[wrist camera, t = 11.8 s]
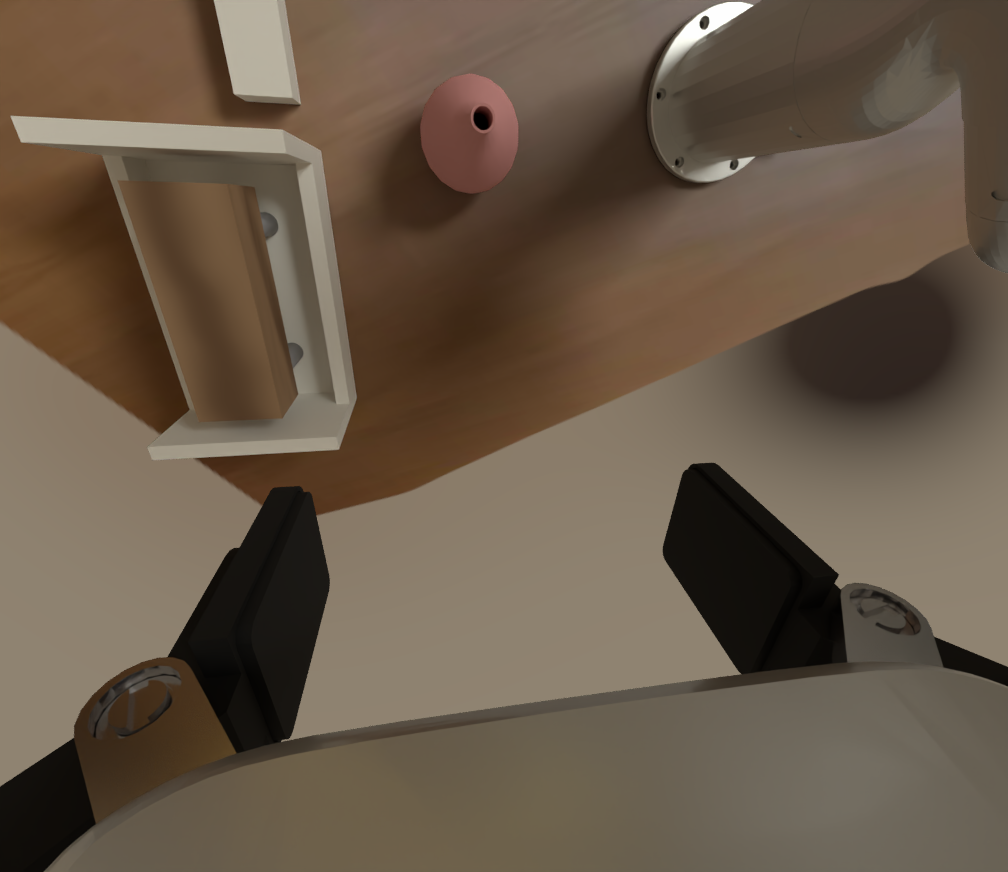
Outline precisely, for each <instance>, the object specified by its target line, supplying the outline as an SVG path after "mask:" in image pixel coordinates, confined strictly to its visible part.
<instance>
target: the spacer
mask: <svg viewBox="0 0 1008 872" xmlns="http://www.w3.org/2000/svg"><path fill="white" fill-rule="evenodd" d="M214 3H215V8H216V12H217V17H218V22H219V26H220V31H221V36H222V40H223V45H224V50H225V55H226V59H227V64H228V69H229V73H230V78H231V83H232V87H233V92H234V95H236V96H238V97H240V98H241V99H243V100H245V101H247V102H263V103H280V104H297V105H301V102H300V95H299V89H298V82H297V76H296V70H295V63H294V57H293V51H292V44H291V38H290V31H289V25H288V19H287V12H286V6H285V0H214Z"/></svg>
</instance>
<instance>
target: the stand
mask: <svg viewBox="0 0 1008 872" xmlns="http://www.w3.org/2000/svg"><path fill="white" fill-rule="evenodd" d="M11 119H12V121H13V123H14V126H15V128H16V131H17V133H18V136H19V138H20V140H21V142H23V143H30V144H36V145H42V146H48V147H55V148H61V149H67V150H73V151H80V152H86V153H92V154H98V155H102V157H103V160H104V163H105V165H106V168H107V171H108V174H109V177H110V180H111V183H112V186H113V189H114V192H115V194H116V197H117V200H118V203H119V206H120V209H121V212H122V215H123V218H124V221H125V224H126V226H127V229H128V232H129V235H130V238H131V241H132V244H133V247H134V250H135V253H136V256H137V258H138V261H139V264H140V267H141V270H142V273H143V276H144V279H145V282H146V285H147V287H148V290H149V293H150V296H151V299H152V302H153V305H154V308H155V311H156V314H157V317H158V319H159V322H160V325H161V328H162V331H163V334H164V337H165V340H166V343H167V346H168V348H169V351H170V354H171V357H172V360H173V363H174V366H175V369H176V372H177V375H178V378H179V380H180V383H181V386H182V389H183V392H184V395H185V398H186V401H187V404H188V407H189V409H190V410H189V411H188V412H187V413H185V414H184V415H183V416H182V417H181V418H180V419H179V420H177V421H176V422H175V423H174V424H173V425H172V426H171V427H169V428H168V429H167V430H166V431H165V432H164V433H162V434H161V435H160V436H159V437H158V438H157V439H156V440H154V441H153V442H152V443H151V444H150V445H149V446H148V447H147V448H148V450H149V453H150V456H151V458H152V460H168V459H184V458H203V457H220V456H237V455H255V454H272V453H290V452H307V451H324V450H339V448H340V445H341V442H342V439H343V437H344V434H345V431H346V428H347V425H348V422H349V419H350V416H351V414H352V411H353V408H354V405H355V402H356V399H357V395H356V388H355V381H354V374H353V368H352V361H351V354H350V347H349V340H348V333H347V326H346V319H345V313H344V306H343V299H342V292H341V285H340V278H339V271H338V264H337V258H336V251H335V244H334V237H333V230H332V223H331V216H330V209H329V203H328V196H327V189H326V182H325V175H324V168H323V161H322V154H321V150H319V149H317V148H315V147H313V146H311V145H310V144H308V143H306V142H304V141H302V140H300V139H299V138H297V137H295V136H293V135H291V134H289V133H288V132H286V131H284V130H279V129H259V128H240V127H220V126H200V125H180V124H161V123H141V122H121V121H101V120H82V119H62V118H42V117H22V116H11ZM118 180H126V181H157V182H187V183H217V184H233V185H241V186H250V187H255V192H256V196H257V201H258V206H259V211H260V215H261V220H262V225H263V230H264V234H265V239H266V244H267V248H268V253H269V258H270V263H271V267H272V272H273V277H274V282H275V286H276V291H277V296H278V301H279V305H280V310H281V315H282V319H283V324H284V329H285V334H286V338H287V343H288V348H289V353H290V357H291V362H292V367H293V372H294V376H295V381H296V386H297V390H298V396H297V397H296V399H295V400H294V402H293V403H292V405H291V406H290V408H289V409H288V411H287V412H286V414H285V415H284V417H283V418H282V419H261V420H238V421H216V422H199V421H198V418H197V415H196V412H195V409H194V406H193V403H192V400H191V397H190V394H189V391H188V388H187V385H186V382H185V379H184V376H183V373H182V370H181V368H180V365H179V362H178V359H177V356H176V353H175V350H174V347H173V344H172V341H171V338H170V335H169V332H168V329H167V326H166V323H165V320H164V317H163V314H162V311H161V308H160V305H159V302H158V299H157V296H156V293H155V290H154V287H153V284H152V281H151V278H150V275H149V272H148V270H147V267H146V264H145V261H144V258H143V255H142V252H141V249H140V246H139V243H138V240H137V237H136V234H135V231H134V228H133V225H132V222H131V219H130V216H129V213H128V210H127V207H126V204H125V201H124V198H123V195H122V192H121V189H120V186H119V183H118Z"/></svg>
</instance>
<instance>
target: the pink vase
mask: <svg viewBox="0 0 1008 872" xmlns="http://www.w3.org/2000/svg"><path fill="white" fill-rule="evenodd" d="M420 131H421V144H422V149H423V152H424V154H425V157H426V159H427V162H428V165H429V167H430V168H431V169H432V170H433V172H434V173H435V174H436V175H437V177H438V178H439V179H440V181H442V182H443V183H445V184H446V185H448V186H449V187H451V188H452V189H454V190H456V191H460V192H465V193H470V194H474V193H479V192H484V191H488V190H490V189H491V188H493V187H494V186H496V185H497V184H499V183H500V182H501V181H502V180H503V179H504V177H505V176H506V175H507V173H508V172H509V170H510V169H511V168H512V165H513V162H514V159H515V156H516V152H517V149H518V122H517V118H516V114H515V111H514V107H513V105H512V103H511V102H510V100H509V99H508V97H507V95H506V94H505V92H504V91H503V89H501V88H500V87H499V86H498V85H496V84H495V83H494V82H492V81H491V80H490V79H489V78H486V77H482V76H478V75H475V74H466V75H461V76H455V77H452V78H450V79H448V80H447V81H446V82H444V83H443V84H441V85H440V86H439V87H437V88H436V89H435V90H434V92H433V93H432V95H431V96H430V98H429V100H428V101H427V103H426V104H425V107H424V111H423V116H422V120H421V124H420Z"/></svg>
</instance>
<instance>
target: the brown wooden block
mask: <svg viewBox="0 0 1008 872" xmlns="http://www.w3.org/2000/svg"><path fill="white" fill-rule="evenodd" d="M118 183H119V186H120V189H121V192H122V195H123V198H124V201H125V204H126V207H127V210H128V213H129V216H130V219H131V222H132V225H133V228H134V231H135V234H136V237H137V240H138V243H139V246H140V249H141V252H142V255H143V258H144V261H145V264H146V267H147V270H148V272H149V275H150V278H151V281H152V284H153V287H154V290H155V293H156V296H157V299H158V302H159V305H160V308H161V311H162V314H163V317H164V320H165V323H166V326H167V329H168V332H169V335H170V338H171V341H172V344H173V347H174V350H175V353H176V356H177V359H178V362H179V365H180V368H181V370H182V373H183V376H184V379H185V382H186V385H187V388H188V391H189V394H190V397H191V400H192V403H193V406H194V409H195V412H196V415H197V418H198V421H199V422H216V421H238V420H261V419H282V418H283V417H284V415H285V414H286V412H287V411H288V409H289V408H290V406H291V405H292V403H293V402H294V400H295V399H296V397H297V396H298V390H297V386H296V381H295V376H294V372H293V367H292V362H291V357H290V353H289V348H288V343H287V338H286V334H285V329H284V324H283V319H282V315H281V310H280V305H279V301H278V296H277V291H276V286H275V282H274V277H273V272H272V267H271V263H270V258H269V253H268V248H267V244H266V239H265V234H264V230H263V225H262V220H261V215H260V211H259V206H258V201H257V196H256V192H255V187H250V186H241V185H233V184H217V183H187V182H157V181H126V180H118Z"/></svg>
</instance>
